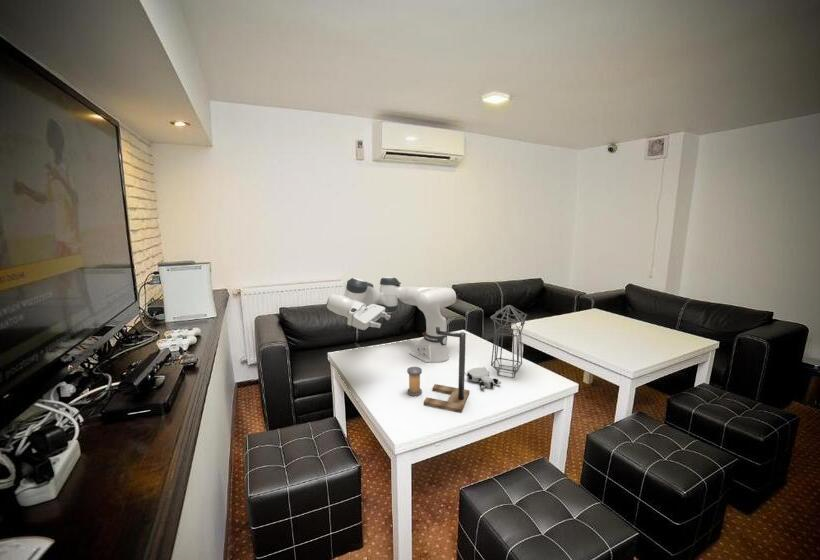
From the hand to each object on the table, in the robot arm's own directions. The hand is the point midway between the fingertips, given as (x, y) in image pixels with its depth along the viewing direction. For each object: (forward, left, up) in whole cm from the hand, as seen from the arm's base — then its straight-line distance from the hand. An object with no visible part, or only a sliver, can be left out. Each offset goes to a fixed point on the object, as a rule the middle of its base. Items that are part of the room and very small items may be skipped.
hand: (385, 322), depth 148 cm
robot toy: (+31, +33, -32) cm, 55 cm away
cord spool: (+13, +5, -31) cm, 34 cm away
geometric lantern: (+35, +50, -32) cm, 69 cm away
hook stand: (+28, +10, -30) cm, 42 cm away
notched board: (+27, +10, -31) cm, 43 cm away
